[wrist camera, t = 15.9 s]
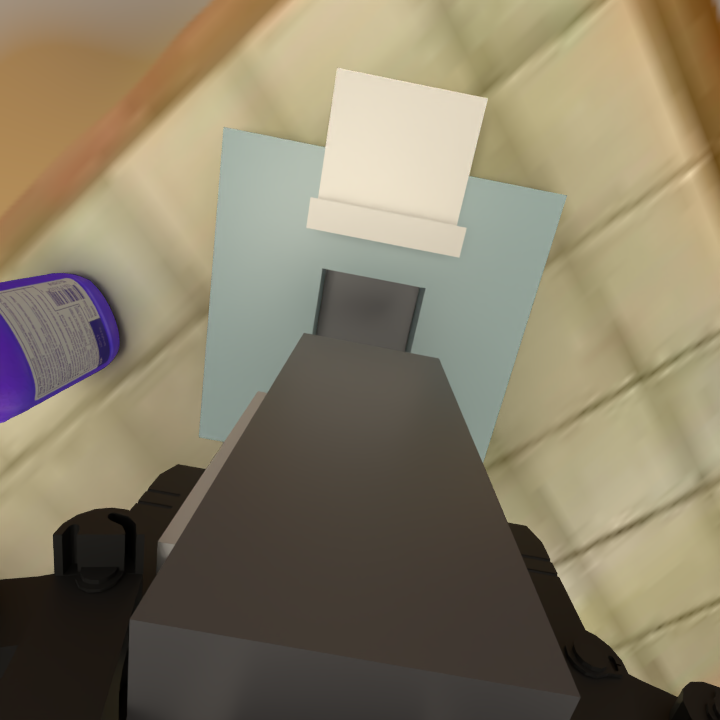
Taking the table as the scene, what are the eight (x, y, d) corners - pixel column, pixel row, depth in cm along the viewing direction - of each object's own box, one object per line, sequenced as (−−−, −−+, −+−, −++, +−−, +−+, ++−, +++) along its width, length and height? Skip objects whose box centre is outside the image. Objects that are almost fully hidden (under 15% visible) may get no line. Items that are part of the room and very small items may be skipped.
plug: (285, 452, 18) (-82, 1417, 4) (303, 332, 16) (-229, 1209, 2) (409, 475, 18) (531, 1495, 4) (438, 358, 16) (856, 1357, 2)
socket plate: (213, 418, 34) (198, 437, 32) (239, 135, 28) (223, 126, 25) (467, 464, 35) (475, 487, 32) (547, 197, 29) (566, 195, 26)
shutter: (316, 225, 27) (306, 227, 23) (338, 73, 24) (331, 47, 20) (447, 251, 27) (459, 257, 23) (483, 102, 24) (503, 82, 21)
